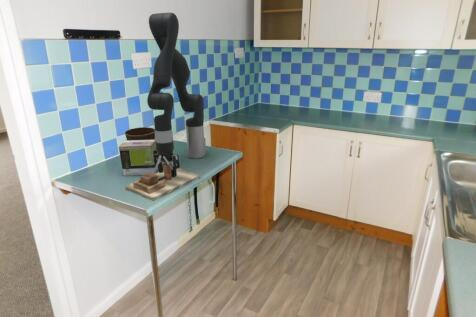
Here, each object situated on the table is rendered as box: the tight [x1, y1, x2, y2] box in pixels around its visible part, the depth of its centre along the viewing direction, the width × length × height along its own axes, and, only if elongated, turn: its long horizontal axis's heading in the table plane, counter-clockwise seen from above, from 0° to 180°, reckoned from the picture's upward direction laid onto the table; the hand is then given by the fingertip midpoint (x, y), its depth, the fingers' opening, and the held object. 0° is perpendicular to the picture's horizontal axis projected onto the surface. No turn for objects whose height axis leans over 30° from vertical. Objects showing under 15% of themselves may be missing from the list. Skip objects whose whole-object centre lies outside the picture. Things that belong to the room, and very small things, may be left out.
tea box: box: [118, 139, 158, 176], centre depth 151 cm, size 15×10×15 cm, turn 92°
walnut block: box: [139, 162, 172, 186], centre depth 137 cm, size 14×5×7 cm, turn 144°
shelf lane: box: [124, 168, 201, 201], centre depth 140 cm, size 27×18×4 cm, turn 144°
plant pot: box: [124, 126, 155, 140], centre depth 164 cm, size 15×15×16 cm
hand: (167, 174), depth 142 cm, fingers open, 8 cm apart
